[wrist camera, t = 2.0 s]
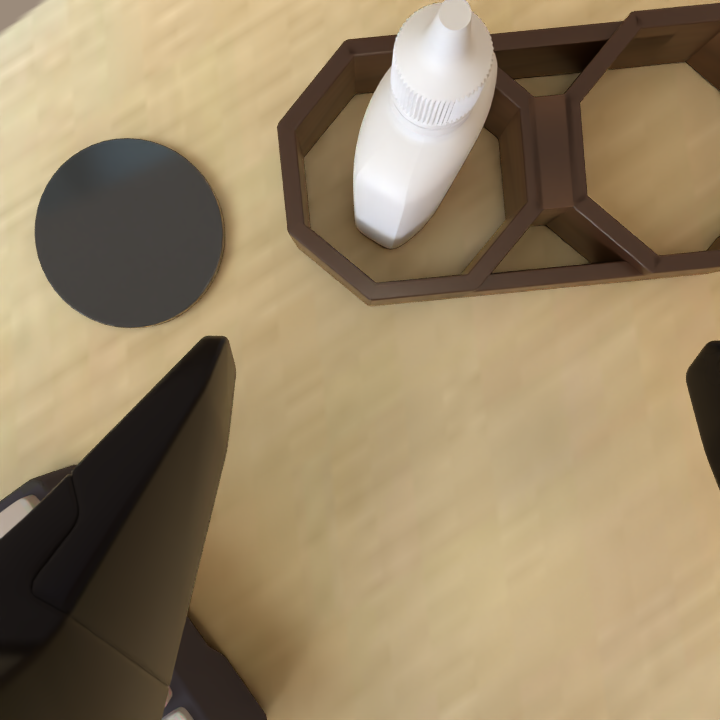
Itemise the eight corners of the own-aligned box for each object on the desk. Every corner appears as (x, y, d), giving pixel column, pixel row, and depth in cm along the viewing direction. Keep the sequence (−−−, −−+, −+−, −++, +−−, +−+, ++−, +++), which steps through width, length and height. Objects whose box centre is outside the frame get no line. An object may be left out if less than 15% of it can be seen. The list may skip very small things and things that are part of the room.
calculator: (22, 478, 19) (248, 801, 19) (87, 457, 24) (271, 720, 23) (-202, 641, 19) (17, 964, 19) (-97, 591, 24) (83, 853, 23)
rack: (772, 267, 23) (835, 255, 20) (303, 312, 23) (295, 308, 20) (757, 39, 22) (818, -8, 19) (280, 85, 22) (268, 46, 19)
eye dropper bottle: (326, 177, 22) (288, -12, 10) (435, 115, 22) (521, -148, 10) (374, 262, 23) (389, 171, 11) (482, 200, 23) (621, 38, 11)
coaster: (167, 362, 23) (163, 362, 22) (6, 268, 23) (0, 267, 22) (259, 202, 23) (257, 199, 22) (97, 106, 22) (92, 101, 22)
